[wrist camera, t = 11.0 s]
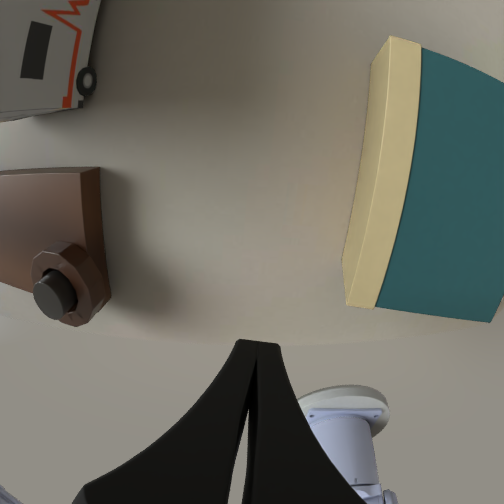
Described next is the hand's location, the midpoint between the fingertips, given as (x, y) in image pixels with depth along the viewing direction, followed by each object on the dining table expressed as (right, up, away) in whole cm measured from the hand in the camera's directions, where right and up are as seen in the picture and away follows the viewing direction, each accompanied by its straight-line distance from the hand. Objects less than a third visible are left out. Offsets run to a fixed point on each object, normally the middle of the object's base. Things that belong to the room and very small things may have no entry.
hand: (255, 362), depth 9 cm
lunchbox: (+14, +6, +2) cm, 15 cm away
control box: (-17, +6, +10) cm, 21 cm away
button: (-13, +1, +7) cm, 15 cm away
